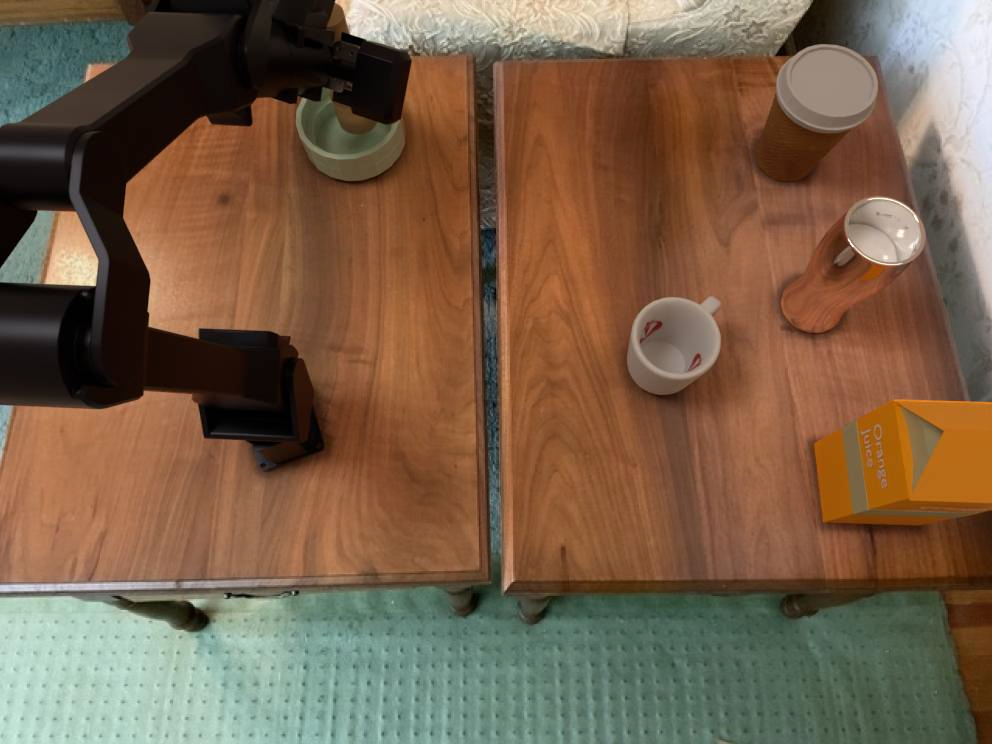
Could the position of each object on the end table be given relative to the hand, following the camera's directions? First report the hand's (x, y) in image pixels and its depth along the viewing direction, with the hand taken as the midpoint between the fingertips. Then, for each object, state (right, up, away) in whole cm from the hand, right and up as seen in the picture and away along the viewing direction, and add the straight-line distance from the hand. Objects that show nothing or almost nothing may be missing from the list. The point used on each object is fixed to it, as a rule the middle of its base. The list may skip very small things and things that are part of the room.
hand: (350, 60), depth 70 cm
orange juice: (+49, -42, -4) cm, 65 cm away
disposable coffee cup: (+47, -8, +8) cm, 48 cm away
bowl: (-1, -5, +9) cm, 10 cm away
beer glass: (+47, -25, +2) cm, 53 cm away
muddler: (0, -3, +6) cm, 7 cm away
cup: (+32, -30, 0) cm, 44 cm away
